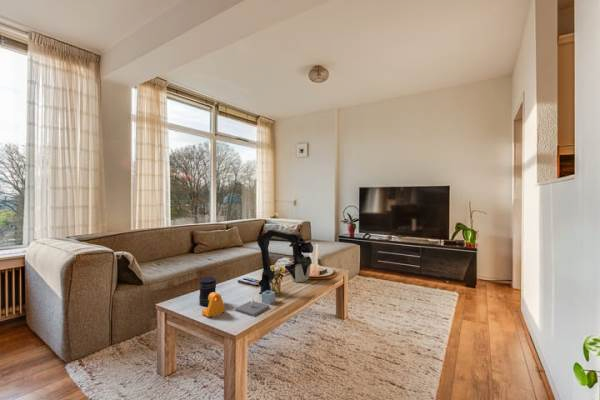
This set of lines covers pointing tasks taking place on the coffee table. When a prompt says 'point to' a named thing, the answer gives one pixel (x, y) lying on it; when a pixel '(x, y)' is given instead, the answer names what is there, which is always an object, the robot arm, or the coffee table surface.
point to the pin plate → (252, 308)
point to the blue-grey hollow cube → (268, 297)
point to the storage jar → (206, 290)
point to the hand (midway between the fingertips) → (299, 277)
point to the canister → (300, 272)
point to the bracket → (214, 305)
